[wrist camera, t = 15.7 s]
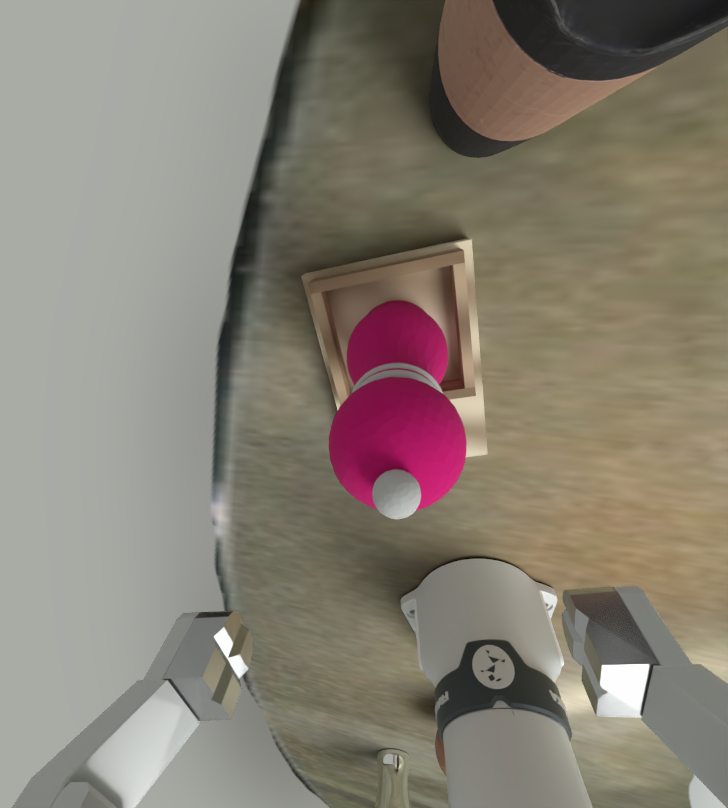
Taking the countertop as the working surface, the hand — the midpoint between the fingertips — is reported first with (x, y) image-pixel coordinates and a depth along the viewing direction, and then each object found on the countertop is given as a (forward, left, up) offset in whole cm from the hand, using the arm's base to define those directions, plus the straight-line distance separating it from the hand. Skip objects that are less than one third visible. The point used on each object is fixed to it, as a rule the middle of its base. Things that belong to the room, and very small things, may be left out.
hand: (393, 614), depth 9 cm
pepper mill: (0, 0, -24) cm, 24 cm away
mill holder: (-3, 0, -25) cm, 25 cm away
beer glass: (-79, +14, -26) cm, 85 cm away
